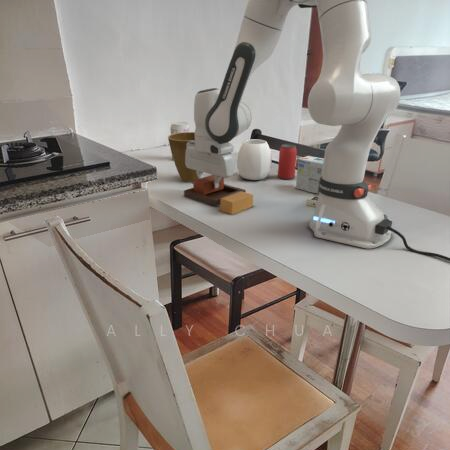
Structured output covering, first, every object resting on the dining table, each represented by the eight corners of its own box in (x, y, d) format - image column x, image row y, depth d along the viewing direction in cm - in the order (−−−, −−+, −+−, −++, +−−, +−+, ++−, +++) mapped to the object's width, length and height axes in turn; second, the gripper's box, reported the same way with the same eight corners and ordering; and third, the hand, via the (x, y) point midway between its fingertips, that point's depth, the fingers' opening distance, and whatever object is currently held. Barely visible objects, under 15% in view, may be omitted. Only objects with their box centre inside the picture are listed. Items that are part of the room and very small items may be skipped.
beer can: (293, 180, 158) (297, 147, 151) (276, 179, 159) (279, 147, 152) (294, 175, 163) (297, 144, 157) (278, 174, 164) (280, 143, 158)
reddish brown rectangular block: (224, 188, 144) (224, 177, 142) (203, 195, 138) (203, 183, 136) (213, 185, 147) (213, 174, 145) (193, 191, 141) (193, 180, 139)
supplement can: (174, 156, 188) (172, 121, 180) (192, 157, 188) (191, 122, 179) (170, 161, 182) (168, 124, 174) (188, 161, 181) (187, 125, 173)
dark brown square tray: (245, 195, 142) (245, 189, 141) (215, 206, 133) (215, 200, 132) (214, 186, 151) (214, 181, 150) (184, 196, 141) (183, 190, 140)
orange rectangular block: (252, 206, 133) (253, 194, 131) (232, 214, 127) (232, 202, 125) (241, 202, 136) (241, 191, 134) (220, 210, 130) (220, 198, 128)
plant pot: (190, 172, 167) (188, 130, 158) (217, 179, 159) (217, 135, 150) (162, 180, 157) (159, 136, 149) (190, 188, 149) (188, 142, 141)
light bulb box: (330, 190, 147) (334, 160, 141) (320, 195, 143) (324, 163, 137) (305, 184, 153) (308, 154, 148) (294, 188, 149) (297, 158, 143)
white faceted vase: (262, 171, 168) (264, 137, 160) (276, 180, 157) (278, 144, 150) (232, 174, 164) (232, 139, 157) (243, 184, 154) (245, 146, 146)
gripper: (179, 140, 138) (181, 181, 146) (224, 150, 127) (224, 194, 134) (193, 137, 142) (194, 177, 150) (237, 147, 131) (236, 189, 138)
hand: (208, 185), depth 142 cm, fingers closed on reddish brown rectangular block, 5 cm apart
